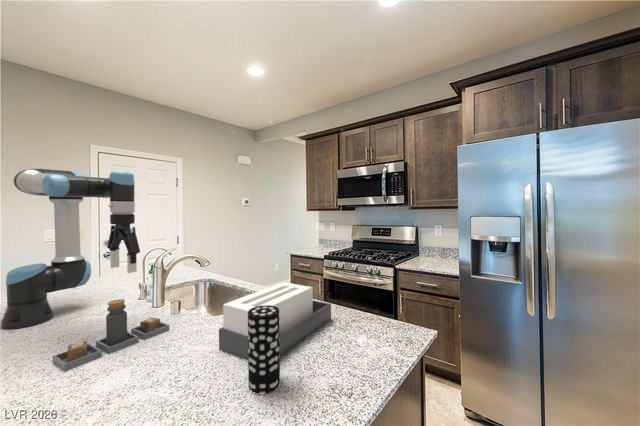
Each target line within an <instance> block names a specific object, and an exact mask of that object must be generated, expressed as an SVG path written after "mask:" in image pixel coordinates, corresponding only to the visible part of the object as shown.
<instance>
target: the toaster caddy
mask: <svg viewBox="0 0 640 426" xmlns="http://www.w3.org/2000/svg"><path fill="white" fill-rule="evenodd" d="M331 321H332V303H330V302H329V303H328V302H323V301H317V300H313V314H311V315H310V316H308V317H306V318H305V319H303V320H302V321H300V322H298V323H297V324H295V325H294V326H292V327H290V328H289V329H287V330H286V331H284V332H282V333H281V334H280V359H282V358H283V357H284V356H286V354H288V353H289V352H290V351H292V350H293V349H295V348H296V347H297V346H298V345H301V343H303V342H304V341H305V340H307V339H308V338H309V337H310V336H312V335H313V334H315V333H316V332H318V331H319V330H320V329H322V328H323V327H324V326H325V325H327V324H328V323H330V322H331ZM218 350H219V351H221V350H222V352H224V351H225V352H224V353H226V352H227V353H226V354H229V353H230V354H229V355H231V354H232V355H231V356H234V355H235V357H237V356H238V357H237V358H239V357H240V358H239V359H242V358H243V359H242V360H244V359H246V360H245V361H247V360H248V337H247V336H244V335H241V334H238V333H235V332H232V331H229V330H226V329H224V326H223V327H221V328H219V329H218Z"/></svg>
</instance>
